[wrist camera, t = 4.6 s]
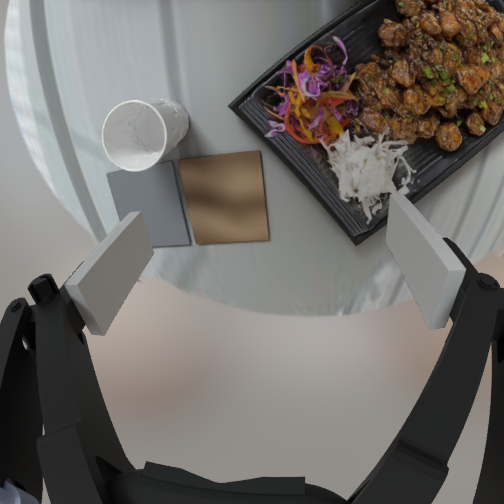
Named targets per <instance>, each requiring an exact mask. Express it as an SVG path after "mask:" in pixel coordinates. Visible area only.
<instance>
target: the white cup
mask: <svg viewBox="0 0 504 504" xmlns="http://www.w3.org/2000/svg"><path fill="white" fill-rule="evenodd" d="M188 128H189V119H188V115H187V113H186V111H185V109H184V107H183V106H182V105H180V104H179V103H177V102H176V101H174V100H168V99H142V100H131V101H126V102H123V103H121V104H119V105H118V106H116V107H115V108H114V109H113V110H112V111H111V112H110V113H109V114H108V116H107V118H106V120H105V122H104V125H103V129H102V142H103V146H104V149H105V152H106V154H107V156H108V157H109V159H110V160H111V161H112V162H113V163H114V164H115V165H116V166H118V167H119V168H121V169H124V170H126V171H131V172H139V171H144V170H146V169H149V168H150V167H152V166H153V165H155V164H156V163H157V162H158V161H159V160H160V159H162V158H163V157H164V156H165V155H166V154H168V153H169V152H170V151H171V150H172V149H173V148H174V147H175V146H176V145H177V144H178V143H179V142H180V141H181V140H182V139H183V138H184V137H185V135H186V132H187V130H188Z"/></svg>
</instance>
